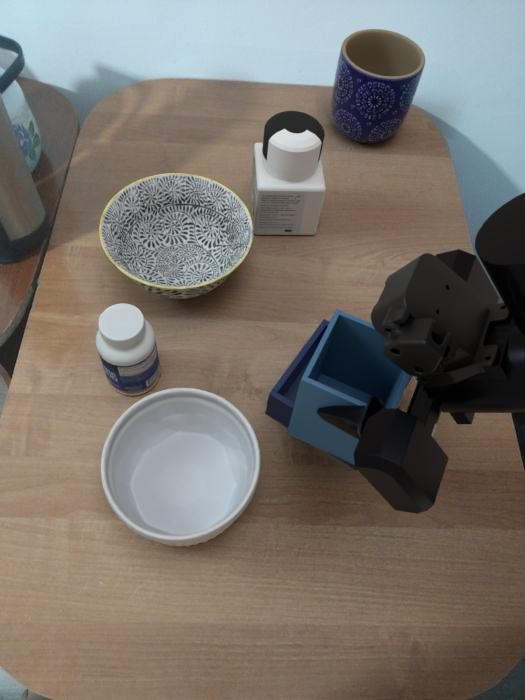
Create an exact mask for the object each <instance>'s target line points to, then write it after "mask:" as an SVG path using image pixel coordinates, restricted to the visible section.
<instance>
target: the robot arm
mask: <svg viewBox="0 0 525 700" xmlns="http://www.w3.org/2000/svg"><path fill="white" fill-rule="evenodd" d="M474 250H475V252H476V255H475V254H474V253H473V254H472V253H470V252H468V251H465V250H462V249H459V248H458V249H453V250H449V251H444V252H440V253H436V254H435V255H434V254H433V253H430V252H426V253H425V252H424V253H422V254H421V255H419V256H418V257H416V258H414V259H413V260H412V261H410V262H408V263H407V264H405V265H404V266H402V267H400V268H399V269H398V270H396V271H395V272H393V273H390V275H388V276H387V278H386V279H385V283H384V287H383V289H382V291H381V294H380V295H379V298H378V300H377V302H376V303H375V305H374V306H373V308H372V310H371V314H370V321H371V322H370V323H372V325H373V327H374V328H375V330H376V331H377V332H378V333H380V334H381V335H382V336H384V337H386V341H385V344H384V346H383V349H382V350H383V354H384V356H385V357H386V358H388V359H389V360H390V361H391V362H393V363H394V364H395V365H397V366H398V367H399V368H400V369H402V370H403V371H404V372H406V373H407V374H408V375H410V376H413V377H414V378H415V380H416V381H417V382H416V385H415V388H414V390H413V393H412V396H411V398H410V401H409V403H408V406H407V408H406V411H404V410H403V409H399V407H398V408H385V407H384V406H383V404H382V403H381V402H380V401H379V399H378V398H377V397H376V396H375V394H372V395H371V397H370V399H369V401H368V402H367V404H366V405H364V406H327V407H321V408H318V410H317V414H318V415H319V416H320V417H321V418H322V419H323V420H324V421H326V422H328V423H329V424H331V425H333V426H335V427H337V428H338V429H340V430H342V431H344V432H346V433H348V434H349V435H351V436H353V437H355V438H357V439H358V440H359V442H358V444H357V446H356V449H355V451H354V463H355V468H356V469H357V470H356V471H358V472H359V474H361V475H362V476H363V477H364V479H365V480H366V481H367V482H368V483H369V484H370V485H371V486H372V487H373V489H375V491H377V492H378V494H379V495H380V496H381V497H382V498H383V499H384V500H385V502H386V503H388V504H389V505H390V507H391V508H392V509H393V510H394V511H397V512H403V513H411V514H416V515H417V514H421V513H424V512H428V511H429V510H430V509H431V508H433V507H434V506H435V503H436V500H437V497H438V494H439V491H440V488H441V484H442V481H443V478H444V475H445V471H446V468H447V465H448V462H449V459H450V457H449V456H448V454H447V453H446V452H445V450H444V449H443V448H442V447H441V445H440V444H439V443H438V442H437V440H436V439H435V437H434V436H435V433H436V430H437V427H438V424H439V421H440V417H441V415H442V413H444V414H445V413H446V414H447V413H448V414H449V415H450V416H451V418H452V419H453V420H454V422H455V423H456V424H457V425H473V422H474V417H475V415H476V414H512V416H513V418H514V419H515V421H516V423H517V424H518V426H520V427H521V426H523V427H524V426H525V192H522V193H520V194H519V195H517V196H515V197H513V198H512V199H510V200H508V201H507V202H505V203H504V204H502V205H501V206H500V207H499V208H497V209H496V210H495V211H494V212H492V213H491V214H490V215H489V217H487V219H486V220H484V222H483V223H482V225H481V226H480V228H479V229H478V231H477V233H476V235H475V238H474ZM477 256H478V257H477ZM493 285H494V286H493ZM500 298H501V300H502V302H499V300H500Z"/></svg>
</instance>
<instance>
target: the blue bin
mask: <svg viewBox="0 0 525 700" xmlns="http://www.w3.org/2000/svg"><path fill="white" fill-rule="evenodd" d="M329 322H330V323H329V325H328V327H327V329H326V331H325V333H324V335H323V337H322V339H321V341H320V343H319V345H318V347H317V349H316V351H315V353H314V355H313V357H312V359H311V361H310V363H309V365H308V367H307V368H306V370H305V372H304V374H303V376H302V378H301V381H300V385H299V389H298V393H297V397H296V401H295V404H294V408H293V412H292V416H291V420H290V424H289V427H287V431H286V433H287V435H290V436H292V437H294V438H296V439H298V440H300V441H302V442H305V443H307V444H308V445H311V446H313V447H315V448H317V449H319V450H321V451H324V452H326V453H327V452H328V453H327V454H329V453H330V454H332V455H334V456H336V457H338V458H341V459H343V460H345V461H347V462H349V463H351V464H353V465H355V463H354V451H355V449H356V446H357V444H358V442H359V440H358V439H357V438H355V437H353V436H351V435H349V434H348V433H346V432H344V431H342V430H340V429H338V428H337V427H335V426H333V425H331V424H329V423H328V422H326V421H324V420H323V419H322V418H321V417H320V416H319V415H318V414H317V410H318V408H321V407H327V406H364V405H366V404H367V402H368V401H369V399H370V397H371V395H372V394H375V396H376V397H377V398H378V399H379V401H380V402H381V403H382V404H383V406H384V407H385V408H398V409H399V406H400V403H401V401H402V399H403V396H404V393H405V391H406V389H407V387H408V385H407V383H408V381H409V378H410V375H408V374H407V373H406V372H404V371H403V370H402V369H400V368H399V367H398V366H397V365H395V364H394V363H393V362H391V361H390V360H389V359H388V358H386V357H385V356H384V354H383V350H382V349H383V346H384V344H385V341H386V337H384V336H382V335H381V334H380V333H378V332H377V331H376V330H375V328H374V327H373V325H372V322H369V321H367V320H364V319H361V318H360V317H358V316H355V315H352V314H350V313H347V312H346V311H343V310H340V309H338V308H336V310H335V312H334V314H333V315H332V317H331V320H330V321H329ZM406 386H407V387H406ZM405 388H406V389H405ZM330 454H329V455H330ZM332 455H331V456H332ZM334 456H333V457H334Z"/></svg>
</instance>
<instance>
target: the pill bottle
mask: <svg viewBox="0 0 525 700" xmlns="http://www.w3.org/2000/svg"><path fill="white" fill-rule="evenodd" d="M97 324H98V329H97V331H96V335H95V345H96V350H97V352H98V355H99V359H100V362H101V364H102V367H103V370H104V373H105V375H106V378H107V380H108V382H109V384H110V386H111V387H112V389H113V390H114V391H116V392H117V393H119V394H120V395H124V396H131V397H132V396H133V397H134V396H140V395H144V394H146V393H147V392H149V391H151V390H152V389H153V388H154V387H155V386H156V384H157V383H158V382H159V379H160V376H161V363H160V359H159V352H158V346H157V340H156V334H155V330H154V329H153V326H152V325H151V323H150V322H149V321H148V320H147V319H145V317H144V314H143V312H142V310H140V309H139V308H138V307H137V306H135V305H133V304H131V303H116V304H112V305H110V306H109V307H107V308H106V309H104V310H103V311H102V313H101V314H100V315H99V317H98V323H97Z"/></svg>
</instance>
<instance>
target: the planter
mask: <svg viewBox="0 0 525 700" xmlns="http://www.w3.org/2000/svg"><path fill="white" fill-rule="evenodd" d="M425 64H426V56H425V53H424V51H423V49H422V48H421V47H420V45H418V43H416V42H415V41H414V40H413V39H411V38H409V37H408V36H406V35H405V34H404V35H403V34H402V33H399V32H396V31H393V30H388V29H383V28H382V29H381V28H368V29H361V30H358V31H355V32H353V33H351V34H349V35H348V36H346V38H345V39H344V40H343V42H342V44H341V47H340V50H339V55H338V60H337V65H336V69H335V75H334V81H333V87H332V93H331V102H330V108H331V109H330V110H331V116H332V119H333V122H334V124H335V126H336V127H337V129H338V130H339V132H340V133H341V134H343V135H344V136H345V137H346V138H348V139H350V140H352V141H354V142H357V143H361V144H378V143H380V142H384V141H385V140H388V139H389V138H391V137H392V136H394V135H395V134H396V133H397V132H398V131H399V130H400V129H401V127H402V126H403V124H404V122H405V120H406V118H407V116H408V114H409V112H410V109H411V107H412V104H413V101H414V98H415V96H416V93H417V90H418V87H419V84H420V81H421V79H422V76H423V73H424V69H425V66H426V65H425Z"/></svg>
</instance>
